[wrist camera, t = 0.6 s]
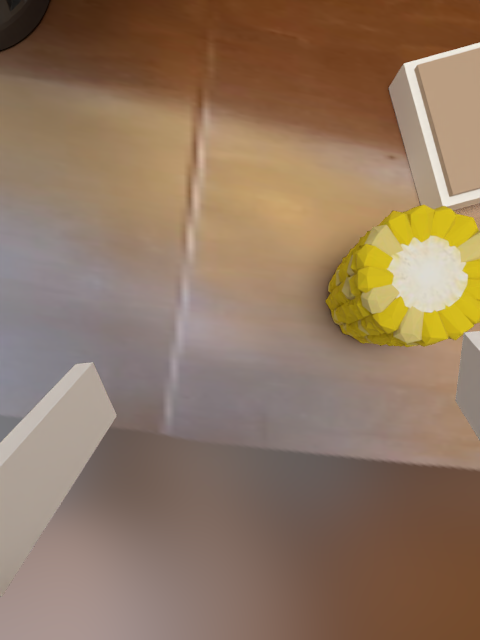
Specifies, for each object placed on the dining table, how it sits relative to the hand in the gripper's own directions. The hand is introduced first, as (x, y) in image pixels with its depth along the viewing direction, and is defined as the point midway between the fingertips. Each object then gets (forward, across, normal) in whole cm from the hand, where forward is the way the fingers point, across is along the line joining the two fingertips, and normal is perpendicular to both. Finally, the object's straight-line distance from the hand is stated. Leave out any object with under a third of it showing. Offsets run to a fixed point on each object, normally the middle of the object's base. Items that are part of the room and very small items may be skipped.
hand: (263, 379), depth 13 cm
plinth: (+33, +20, +4) cm, 39 cm away
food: (+24, +7, -8) cm, 27 cm away
